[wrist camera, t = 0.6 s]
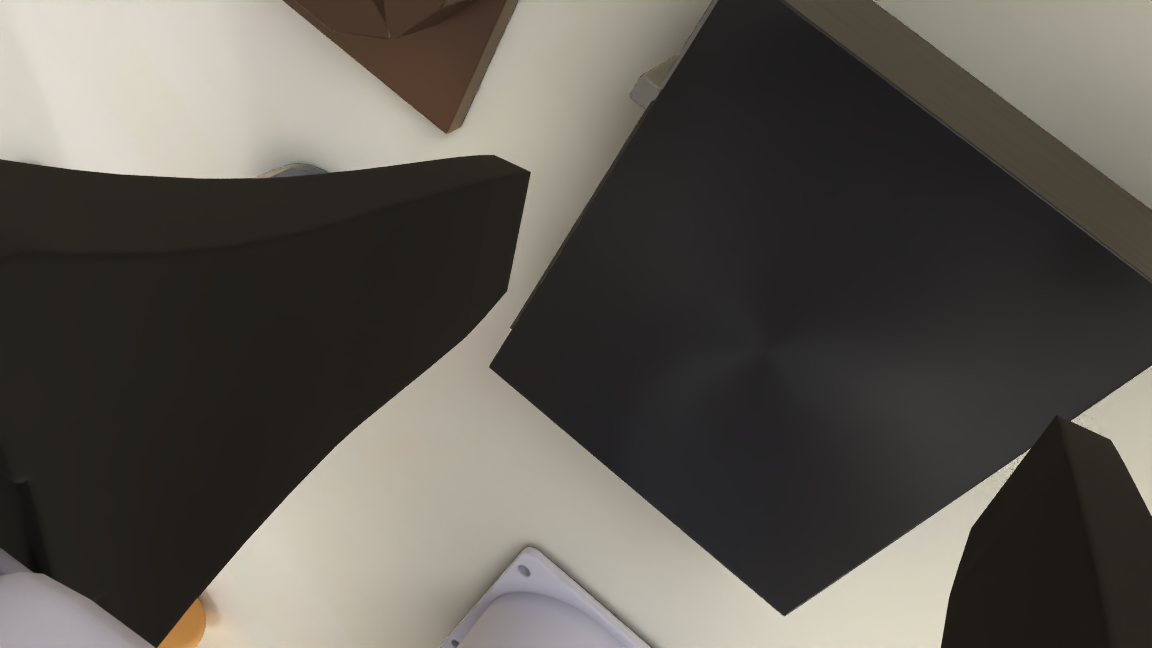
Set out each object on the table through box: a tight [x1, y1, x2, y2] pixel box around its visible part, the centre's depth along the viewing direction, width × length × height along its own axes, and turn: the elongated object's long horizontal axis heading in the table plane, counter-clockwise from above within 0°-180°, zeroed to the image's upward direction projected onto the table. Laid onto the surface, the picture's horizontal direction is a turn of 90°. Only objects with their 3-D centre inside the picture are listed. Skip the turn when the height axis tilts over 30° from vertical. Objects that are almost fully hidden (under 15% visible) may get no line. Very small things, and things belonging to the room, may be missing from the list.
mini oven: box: [489, 0, 1152, 616], centre depth 20 cm, size 12×11×4 cm
